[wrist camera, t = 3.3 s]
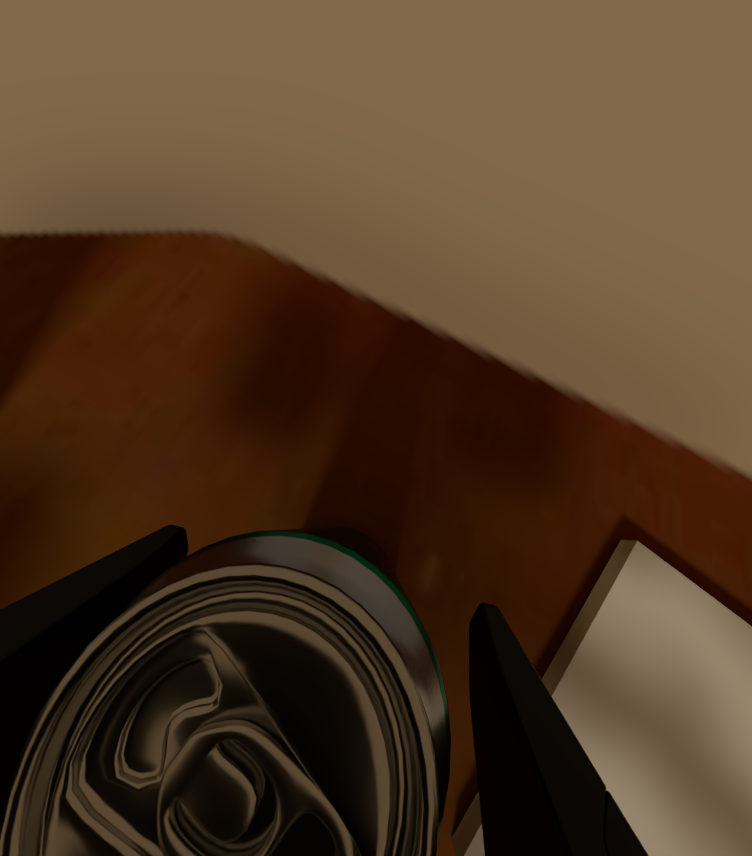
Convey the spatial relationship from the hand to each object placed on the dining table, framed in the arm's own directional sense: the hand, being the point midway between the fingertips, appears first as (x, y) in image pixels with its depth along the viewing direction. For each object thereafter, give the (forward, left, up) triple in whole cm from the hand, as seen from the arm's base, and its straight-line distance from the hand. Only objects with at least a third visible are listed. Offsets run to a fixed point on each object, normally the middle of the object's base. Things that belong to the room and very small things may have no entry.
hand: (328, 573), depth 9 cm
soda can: (-1, +1, -7) cm, 7 cm away
